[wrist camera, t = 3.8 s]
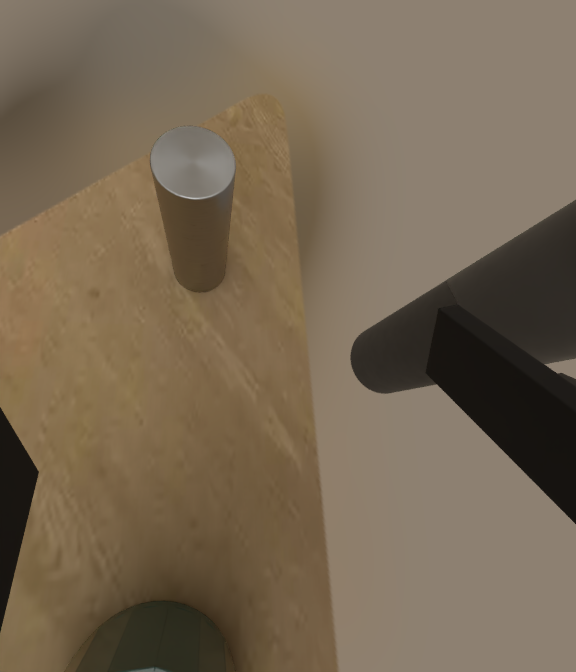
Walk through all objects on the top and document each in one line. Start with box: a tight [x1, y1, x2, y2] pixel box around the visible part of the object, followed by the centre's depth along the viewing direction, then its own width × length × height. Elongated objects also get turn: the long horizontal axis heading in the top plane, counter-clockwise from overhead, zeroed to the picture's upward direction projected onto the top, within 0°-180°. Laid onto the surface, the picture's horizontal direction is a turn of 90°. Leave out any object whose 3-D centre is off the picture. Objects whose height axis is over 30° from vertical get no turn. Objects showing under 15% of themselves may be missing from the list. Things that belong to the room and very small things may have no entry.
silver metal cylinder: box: [150, 126, 236, 292], centre depth 23 cm, size 4×4×12 cm
